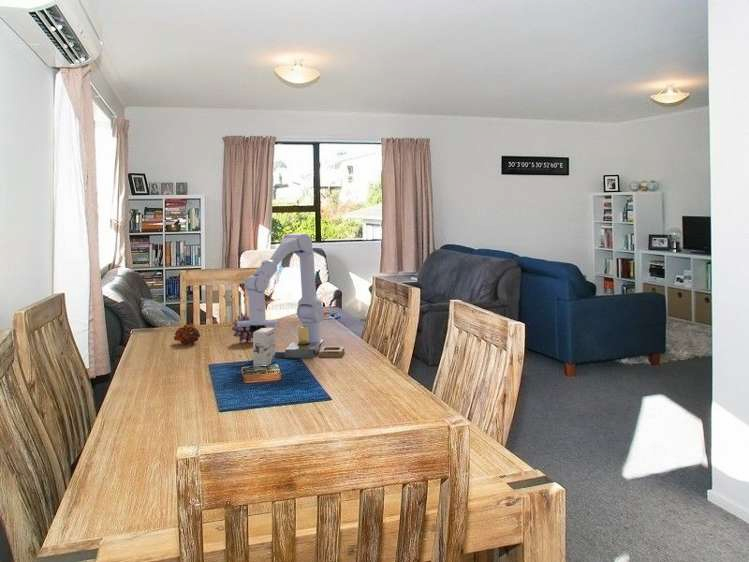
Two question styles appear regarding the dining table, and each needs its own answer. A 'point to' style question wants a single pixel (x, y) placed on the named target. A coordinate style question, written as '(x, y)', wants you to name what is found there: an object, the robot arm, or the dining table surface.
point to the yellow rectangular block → (303, 335)
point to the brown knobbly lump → (187, 334)
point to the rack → (331, 352)
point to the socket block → (301, 350)
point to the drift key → (279, 353)
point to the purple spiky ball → (242, 329)
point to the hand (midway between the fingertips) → (258, 346)
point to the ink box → (263, 346)
